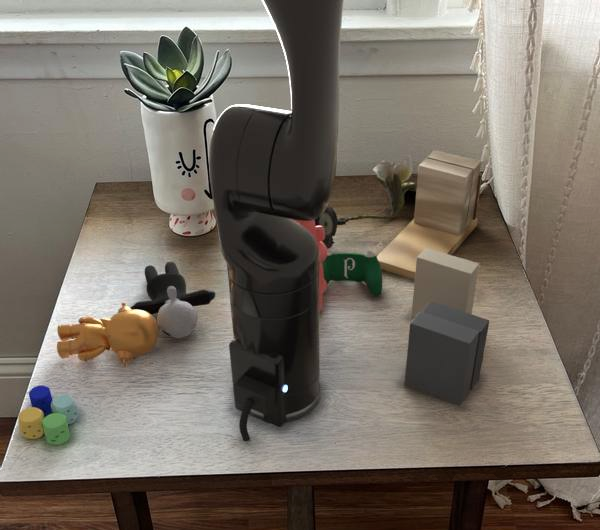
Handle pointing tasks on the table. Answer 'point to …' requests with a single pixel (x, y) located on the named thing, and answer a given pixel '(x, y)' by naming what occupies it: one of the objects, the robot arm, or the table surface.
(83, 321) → the figurine
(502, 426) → the table surface
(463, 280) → the cream book
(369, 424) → the table surface
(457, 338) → the grey books
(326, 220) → the artificial flower
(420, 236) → the book shelf
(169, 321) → the figurine
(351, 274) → the gaming controller
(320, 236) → the figurine
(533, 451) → the table surface
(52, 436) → the multicoloured cylinder cluster
